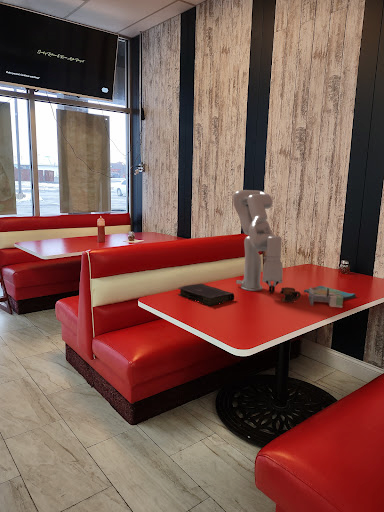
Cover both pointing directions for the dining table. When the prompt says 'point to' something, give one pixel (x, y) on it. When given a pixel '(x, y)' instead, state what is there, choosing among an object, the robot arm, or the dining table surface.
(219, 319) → the dining table surface
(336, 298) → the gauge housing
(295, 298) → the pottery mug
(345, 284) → the dining table surface
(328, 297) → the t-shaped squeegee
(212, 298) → the diary
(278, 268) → the robot arm
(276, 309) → the dining table surface
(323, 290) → the dish towel
